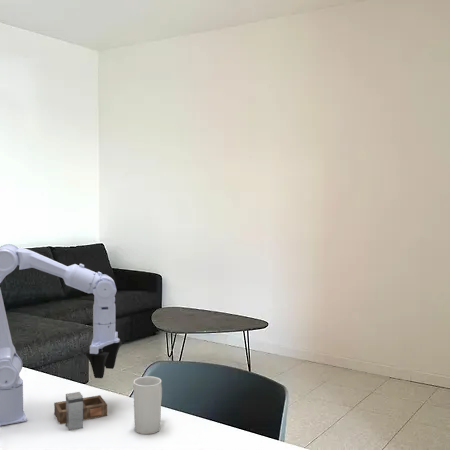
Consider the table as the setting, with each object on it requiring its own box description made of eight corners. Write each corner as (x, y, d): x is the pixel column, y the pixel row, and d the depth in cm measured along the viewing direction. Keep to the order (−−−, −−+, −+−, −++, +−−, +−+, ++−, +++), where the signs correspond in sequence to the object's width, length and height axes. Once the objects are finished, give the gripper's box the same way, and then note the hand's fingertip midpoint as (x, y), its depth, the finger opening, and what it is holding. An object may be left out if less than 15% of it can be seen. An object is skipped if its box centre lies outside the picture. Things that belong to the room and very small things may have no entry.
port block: (59, 424, 140) (59, 412, 140) (54, 413, 147) (54, 402, 147) (107, 416, 146) (107, 404, 146) (100, 406, 152) (100, 395, 152)
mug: (152, 437, 134) (152, 387, 133) (128, 431, 137) (127, 383, 136) (172, 421, 143) (172, 374, 142) (150, 416, 146) (149, 370, 145)
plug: (68, 430, 137) (68, 398, 136) (66, 425, 140) (65, 393, 140) (83, 428, 139) (82, 396, 138) (79, 422, 142) (79, 391, 141)
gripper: (108, 329, 140) (108, 383, 141) (128, 316, 154) (128, 365, 155) (81, 328, 141) (81, 381, 142) (103, 315, 155) (103, 363, 156)
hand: (104, 372), depth 149 cm, fingers open, 7 cm apart
